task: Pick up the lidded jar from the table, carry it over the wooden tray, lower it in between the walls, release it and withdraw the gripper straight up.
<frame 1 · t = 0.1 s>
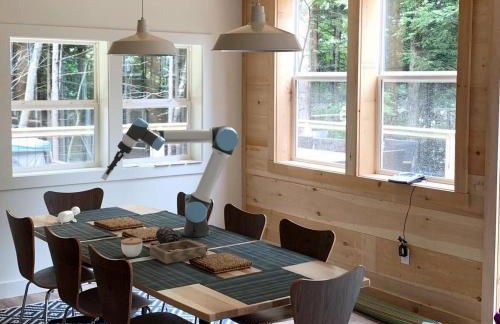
hand: (104, 177, 387), 36 cm above the table, tool tilted 35°, fingers open, 13 cm apart
white animal figurine: (69, 222, 445), on the table
wooden tray: (178, 256, 363), on the table
lidded jar: (132, 255, 366), on the table
pine cone: (169, 246, 384), on the table
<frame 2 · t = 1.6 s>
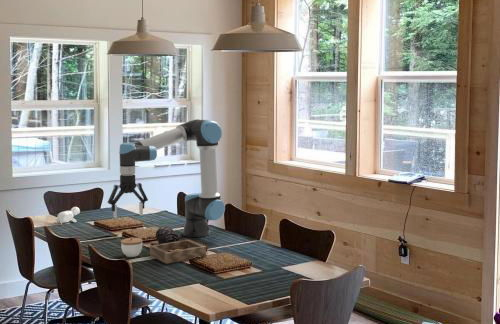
hand: (128, 216, 364), 20 cm above the table, tool pointing down, fingers open, 13 cm apart
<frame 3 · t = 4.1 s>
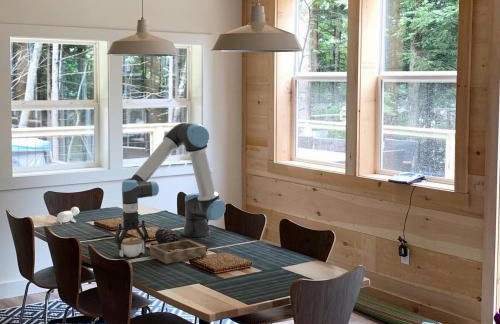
hand: (132, 254, 366), 0 cm above the table, tool pointing down, fingers closed on lidded jar, 11 cm apart
lidded jar: (132, 255, 366), on the table, touching gripper
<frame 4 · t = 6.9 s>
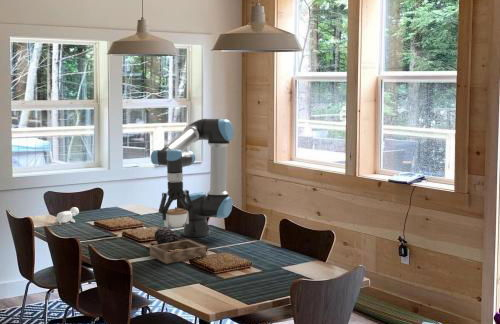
hand: (176, 224, 361), 16 cm above the table, tool pointing down, fingers closed on lidded jar, 11 cm apart
lidded jar: (176, 226, 361), point 15 cm above the table, touching gripper
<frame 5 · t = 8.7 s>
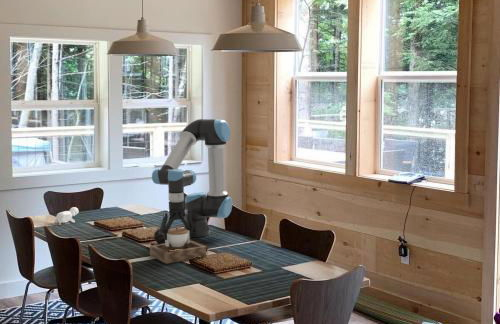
hand: (177, 244, 362), 6 cm above the table, tool pointing down, fingers closed on lidded jar, 11 cm apart
lidded jar: (177, 245, 362), point 5 cm above the table, touching gripper
when the fingers open (2 cm above the table, at t = 10.1 s): lidded jar drops 1 cm, resting in wooden tray.
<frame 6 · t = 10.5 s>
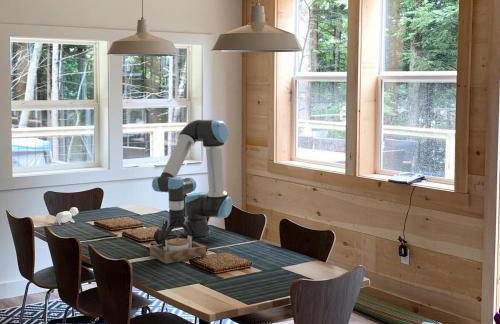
hand: (177, 250, 363), 3 cm above the table, tool pointing down, fingers open, 13 cm apart
lidded jar: (178, 256, 363), resting in wooden tray
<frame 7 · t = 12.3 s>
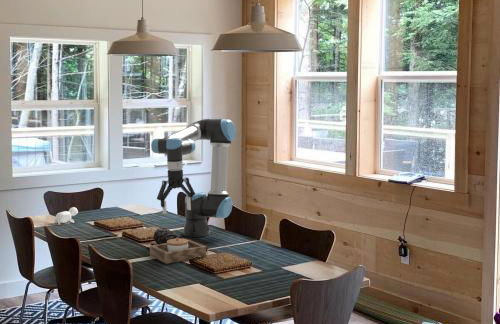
hand: (176, 211, 362), 22 cm above the table, tool pointing down, fingers open, 13 cm apart
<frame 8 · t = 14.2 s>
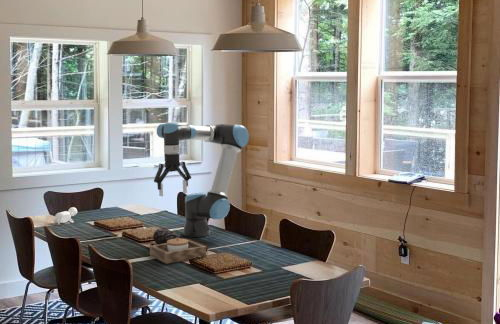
hand: (173, 194, 373), 29 cm above the table, tool pointing down, fingers open, 13 cm apart
at the end: lidded jar inside the target area on the wooden tray (0.0 cm from its centre), point 0.0 cm above the wooden tray's base; lidded jar tilted 0°; the gripper is holding nothing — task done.
